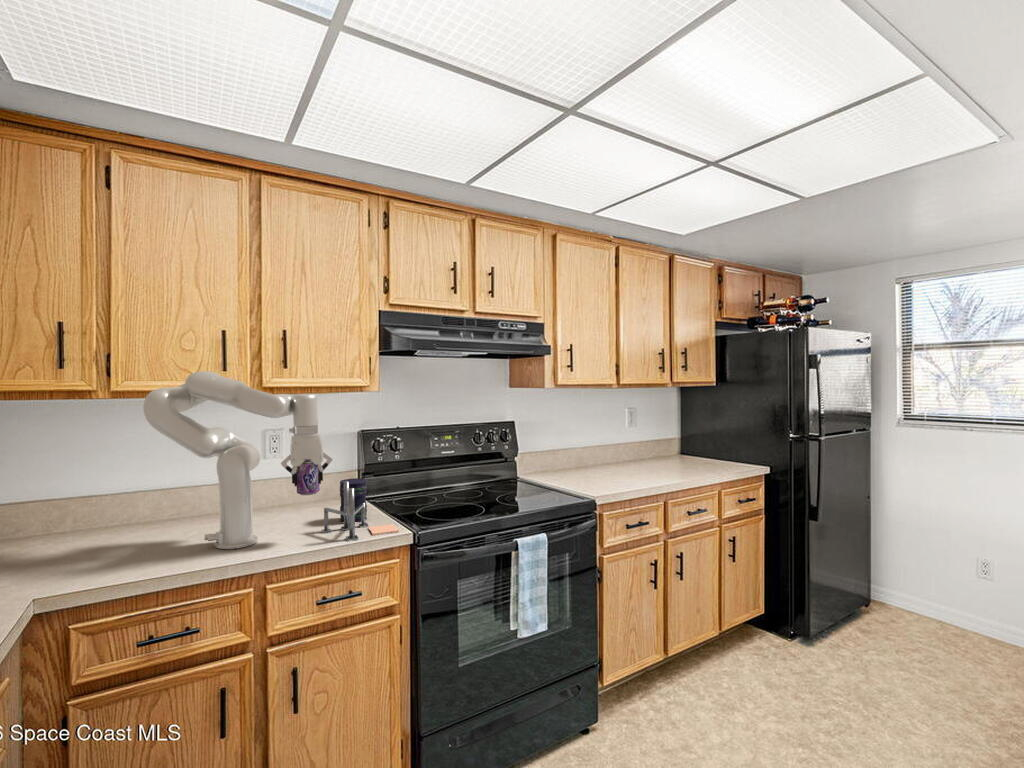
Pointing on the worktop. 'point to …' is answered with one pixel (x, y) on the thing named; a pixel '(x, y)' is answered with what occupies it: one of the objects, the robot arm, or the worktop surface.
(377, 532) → the plate
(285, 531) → the worktop surface
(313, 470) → the beverage can
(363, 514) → the grey open angular frame
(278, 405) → the robot arm
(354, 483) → the dark purple cylinder
